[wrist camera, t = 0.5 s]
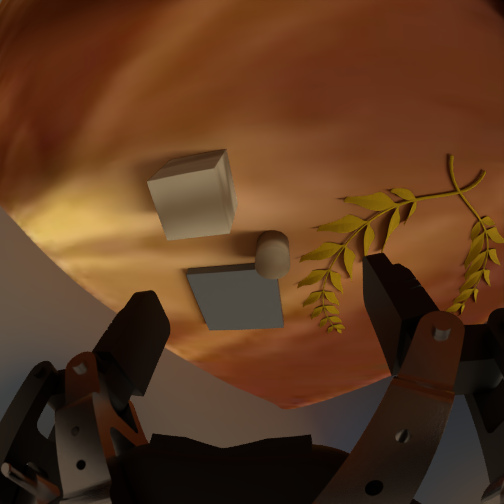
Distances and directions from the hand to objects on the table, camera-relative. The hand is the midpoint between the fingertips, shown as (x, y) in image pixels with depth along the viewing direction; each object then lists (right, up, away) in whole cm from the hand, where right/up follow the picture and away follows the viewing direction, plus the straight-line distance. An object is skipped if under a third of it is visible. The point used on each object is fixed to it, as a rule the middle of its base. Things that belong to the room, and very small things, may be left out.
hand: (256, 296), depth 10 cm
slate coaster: (-2, -4, +27) cm, 27 cm away
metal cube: (-5, +9, +17) cm, 20 cm away
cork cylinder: (+2, +3, +21) cm, 21 cm away
